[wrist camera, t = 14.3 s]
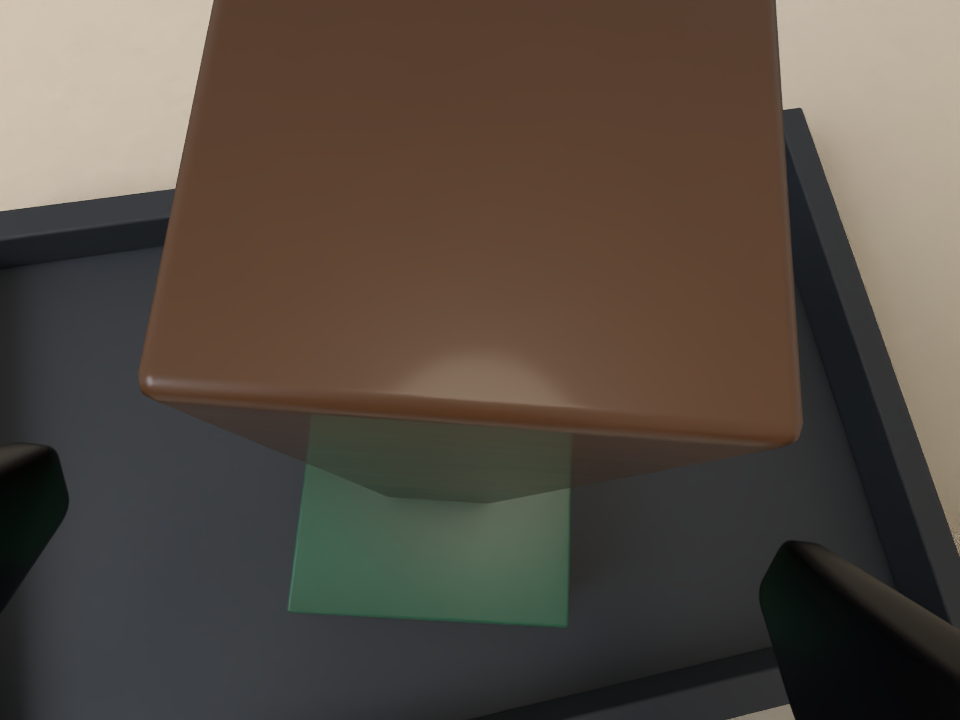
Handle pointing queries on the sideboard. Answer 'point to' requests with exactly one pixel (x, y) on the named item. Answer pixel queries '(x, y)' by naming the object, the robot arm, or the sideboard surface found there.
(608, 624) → the tray
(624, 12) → the brown post on base
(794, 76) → the sideboard surface
